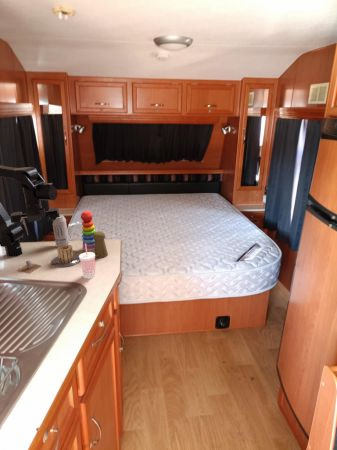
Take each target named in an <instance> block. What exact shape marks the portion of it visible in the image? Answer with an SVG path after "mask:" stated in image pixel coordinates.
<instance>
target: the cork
mask: <svg viewBox="0 0 337 450" xmlns="http://www.w3.org/2000/svg"><path fill="white" fill-rule="evenodd" d="M105 238H106V234H105V232H104V231H96V232H95V233H94V234H93V239H94V240H95V248H94V252H93V253H95V258H96V259H105V258H107V257H108V255H109V253H108V249H107V245H106V239H105Z"/></svg>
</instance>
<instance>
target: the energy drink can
mask: <svg viewBox="0 0 337 450" xmlns="http://www.w3.org/2000/svg"><path fill="white" fill-rule="evenodd" d="M52 229H53V234H54V242H55V246H56V247H57V248H58V247H60V246H62V245H70V240H69V232H68V227H67V219H66V217H65V215H63V214H59V217H58V218H56V220H54V221H53V224H52Z"/></svg>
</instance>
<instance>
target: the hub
mask: <svg viewBox="0 0 337 450" xmlns="http://www.w3.org/2000/svg"><path fill="white" fill-rule="evenodd" d="M79 255H80V254H78V253H73V257H74V261H72V262H70V263H67V264H62V263H60V262H59V257H58V255H57V256H56V257H53V259H51V260H50V265H51V266H52V267H54V268H58V269H59V268H60V269H61V268H62V269H64V268H65V269H67V268H71V267H74V266H76V265H78V264H79V263H80V264H81V261H80V259H79Z"/></svg>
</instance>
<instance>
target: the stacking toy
mask: <svg viewBox="0 0 337 450" xmlns="http://www.w3.org/2000/svg"><path fill="white" fill-rule="evenodd" d="M80 219H81V221H82V222H81V223H82V232H81V233H82V235H81V237H82V239H81V241H82V251H84V252H86V248H85V243H86V246H87V252H93V253H94V248H95V240H94V239H93V234H94V233H95V232H97V231H96V229H95V227H96V226H95V225H94V221H93V213H92V212H91V211H89V210H84V211H82V213H81V214H80Z"/></svg>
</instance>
